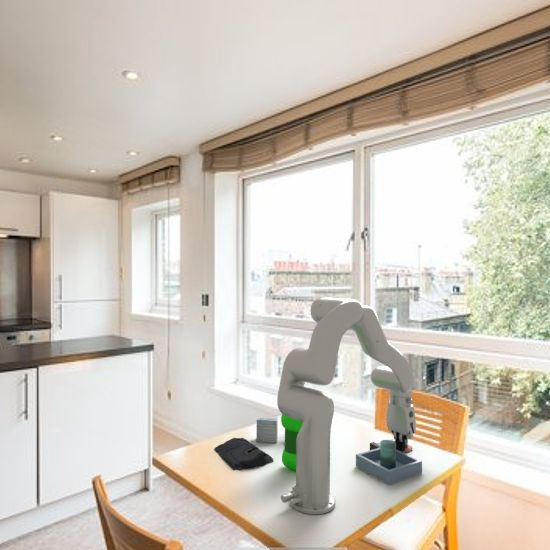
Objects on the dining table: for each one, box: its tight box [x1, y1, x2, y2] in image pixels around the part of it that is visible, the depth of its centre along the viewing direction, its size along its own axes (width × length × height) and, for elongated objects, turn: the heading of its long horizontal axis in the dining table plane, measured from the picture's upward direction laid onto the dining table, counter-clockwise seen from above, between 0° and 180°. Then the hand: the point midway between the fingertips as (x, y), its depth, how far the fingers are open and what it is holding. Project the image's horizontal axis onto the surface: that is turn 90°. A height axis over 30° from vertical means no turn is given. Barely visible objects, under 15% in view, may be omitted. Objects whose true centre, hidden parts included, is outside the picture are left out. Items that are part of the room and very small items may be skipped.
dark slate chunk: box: [213, 437, 274, 472], centre depth 151 cm, size 15×22×5 cm
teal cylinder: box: [379, 439, 396, 470], centre depth 140 cm, size 5×5×8 cm
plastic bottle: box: [280, 413, 303, 473], centre depth 141 cm, size 10×10×25 cm
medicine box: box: [255, 416, 279, 444], centre depth 165 cm, size 8×4×9 cm, turn 84°
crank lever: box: [369, 435, 409, 451], centre depth 155 cm, size 16×5×4 cm, turn 121°
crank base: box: [403, 444, 413, 453], centre depth 158 cm, size 7×7×1 cm
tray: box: [355, 448, 423, 486], centre depth 140 cm, size 15×15×4 cm
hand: (400, 451), depth 151 cm, fingers closed
